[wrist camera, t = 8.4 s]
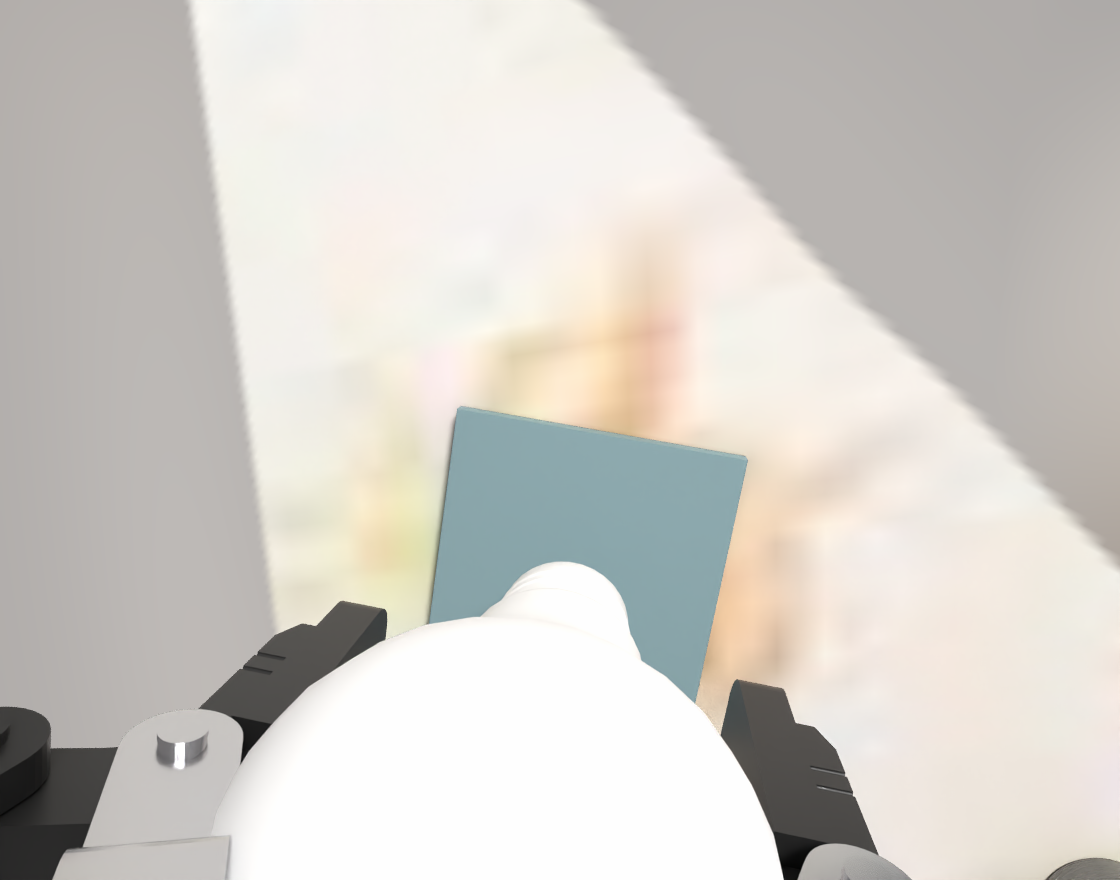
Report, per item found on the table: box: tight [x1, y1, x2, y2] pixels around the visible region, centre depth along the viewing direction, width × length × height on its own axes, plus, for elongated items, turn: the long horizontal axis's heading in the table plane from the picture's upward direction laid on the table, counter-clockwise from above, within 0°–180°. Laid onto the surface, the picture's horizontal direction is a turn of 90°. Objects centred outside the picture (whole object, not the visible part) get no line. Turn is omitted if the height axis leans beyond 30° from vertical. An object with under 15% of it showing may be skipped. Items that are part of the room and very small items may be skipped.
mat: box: [429, 406, 748, 703], centre depth 18 cm, size 6×6×1 cm
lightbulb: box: [211, 562, 784, 880], centre depth 11 cm, size 6×6×11 cm
